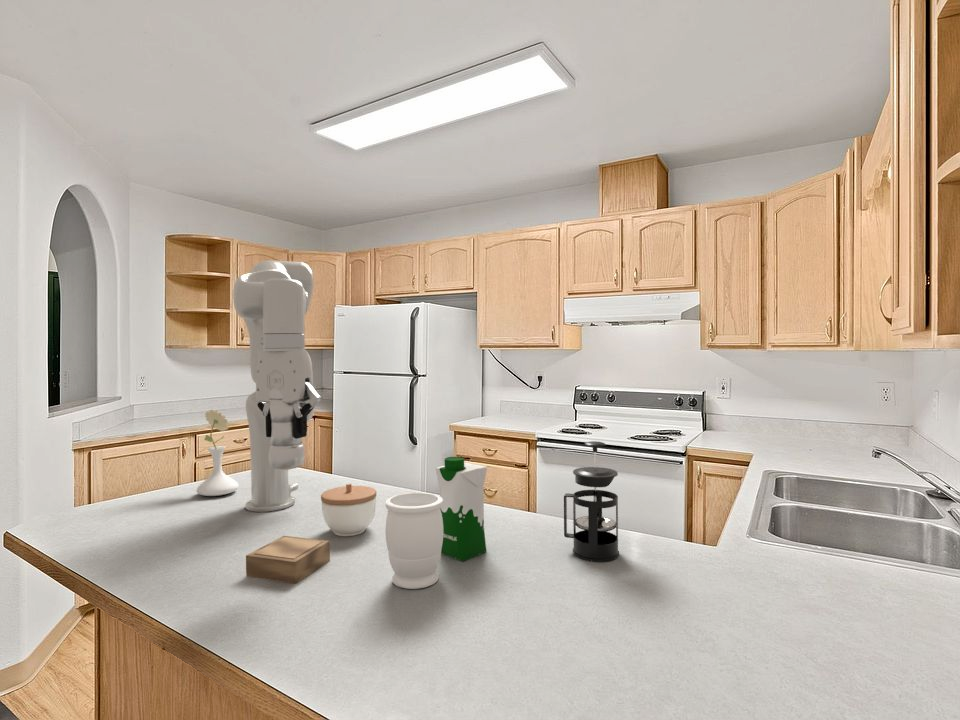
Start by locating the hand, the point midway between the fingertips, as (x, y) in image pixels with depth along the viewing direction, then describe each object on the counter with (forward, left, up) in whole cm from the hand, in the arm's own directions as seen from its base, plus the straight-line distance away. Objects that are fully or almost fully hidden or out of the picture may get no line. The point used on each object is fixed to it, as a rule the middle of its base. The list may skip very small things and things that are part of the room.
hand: (286, 435), depth 104 cm
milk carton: (-17, +30, -26) cm, 43 cm away
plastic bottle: (0, 0, -7) cm, 7 cm away
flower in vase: (-40, -56, -26) cm, 74 cm away
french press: (-24, +56, -26) cm, 66 cm away
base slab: (0, 0, -26) cm, 26 cm away
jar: (-2, +26, -26) cm, 37 cm away
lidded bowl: (-22, 0, -26) cm, 34 cm away
